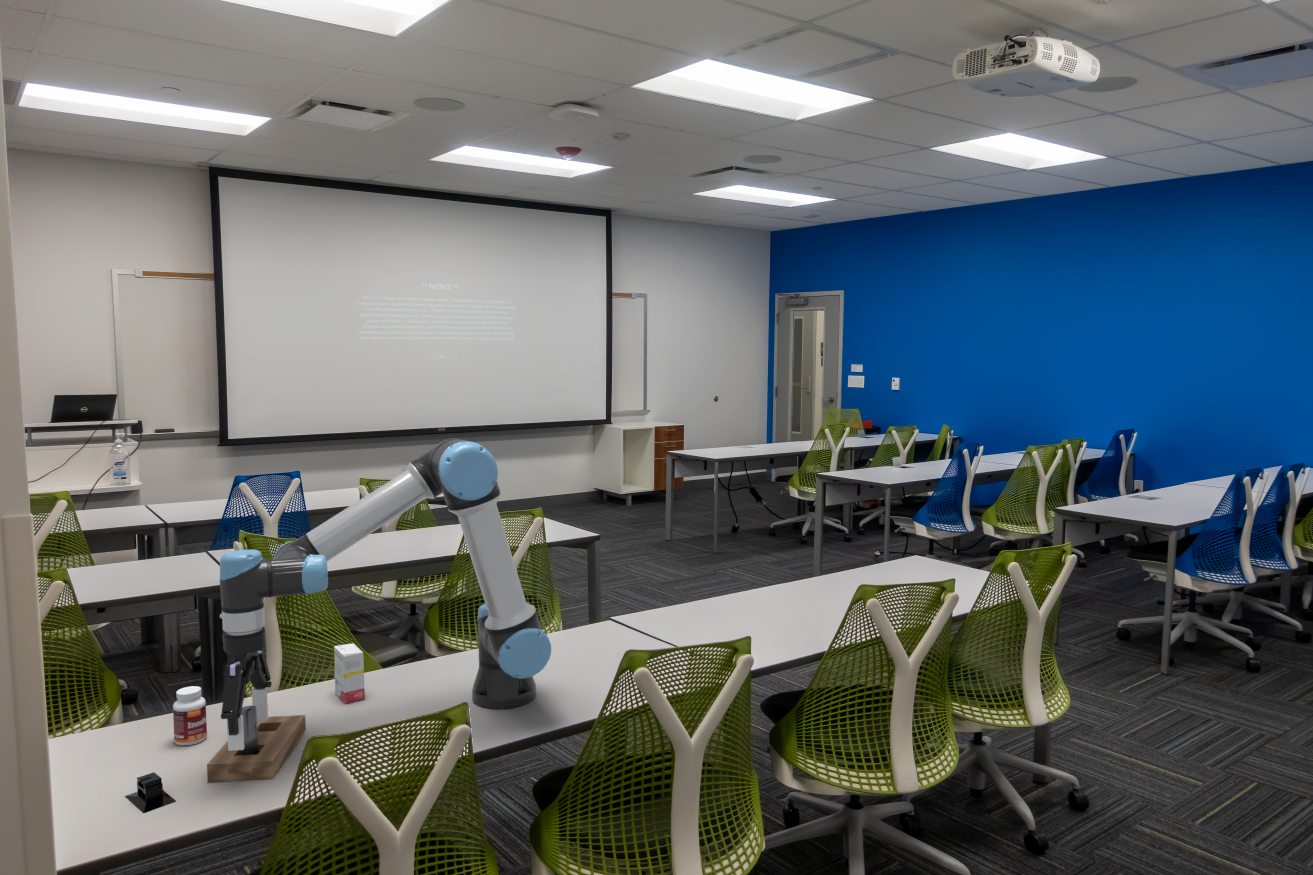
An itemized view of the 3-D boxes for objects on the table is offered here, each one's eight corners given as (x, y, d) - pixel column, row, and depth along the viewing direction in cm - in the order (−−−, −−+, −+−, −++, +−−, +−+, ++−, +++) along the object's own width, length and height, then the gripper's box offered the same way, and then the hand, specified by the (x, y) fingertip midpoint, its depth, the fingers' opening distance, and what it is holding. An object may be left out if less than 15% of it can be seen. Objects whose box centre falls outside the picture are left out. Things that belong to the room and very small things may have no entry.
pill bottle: (190, 748, 180) (188, 697, 179) (167, 744, 182) (164, 693, 181) (214, 735, 186) (211, 686, 185) (191, 732, 188) (188, 683, 187)
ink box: (365, 699, 206) (364, 651, 205) (344, 704, 203) (343, 655, 202) (355, 688, 213) (353, 641, 212) (334, 693, 210) (332, 645, 209)
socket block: (305, 730, 189) (305, 714, 188) (272, 778, 167) (272, 760, 167) (248, 733, 187) (247, 717, 187) (207, 781, 166) (206, 764, 165)
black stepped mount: (117, 797, 161) (116, 773, 161) (159, 783, 166) (158, 760, 166) (142, 820, 153) (140, 795, 152) (185, 804, 158) (184, 780, 158)
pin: (261, 762, 173) (258, 705, 172) (255, 769, 171) (253, 711, 169) (245, 763, 173) (242, 705, 172) (240, 770, 170) (237, 711, 169)
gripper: (246, 612, 181) (251, 709, 183) (197, 651, 157) (203, 764, 158) (283, 610, 182) (288, 708, 184) (240, 649, 157) (246, 761, 159)
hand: (249, 734), depth 171 cm, fingers open, 13 cm apart
